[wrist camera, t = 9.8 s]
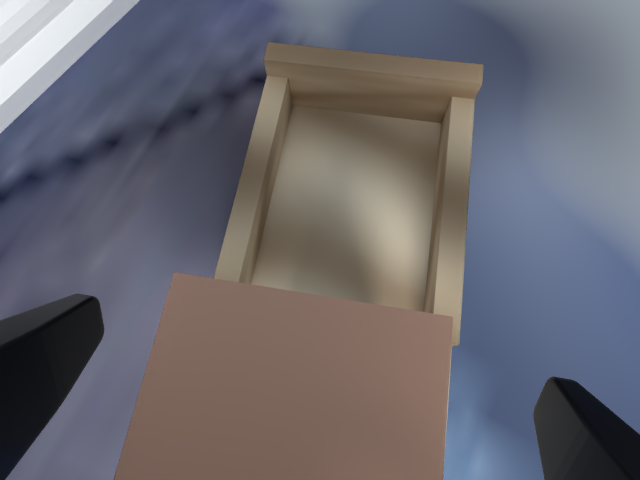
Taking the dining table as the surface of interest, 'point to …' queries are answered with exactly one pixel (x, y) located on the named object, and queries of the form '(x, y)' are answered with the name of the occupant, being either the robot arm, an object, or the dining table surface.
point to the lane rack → (357, 180)
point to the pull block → (288, 388)
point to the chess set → (46, 44)
